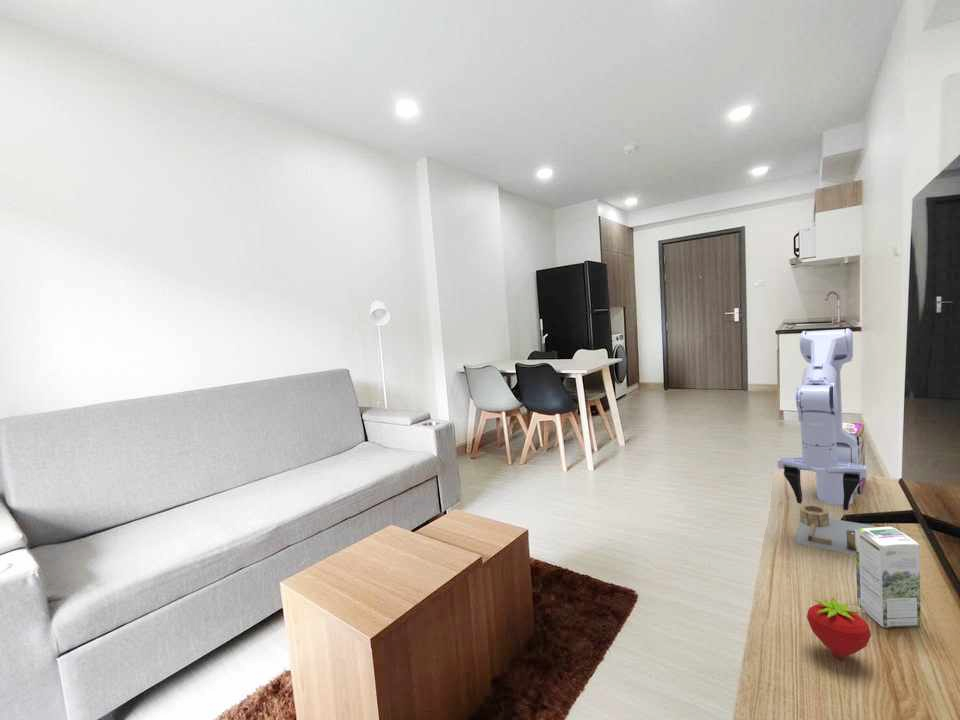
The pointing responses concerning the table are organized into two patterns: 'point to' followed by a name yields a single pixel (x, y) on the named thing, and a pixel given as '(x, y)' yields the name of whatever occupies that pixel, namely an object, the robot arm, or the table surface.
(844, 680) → the table surface
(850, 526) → the board
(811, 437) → the robot arm
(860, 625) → the strawberry
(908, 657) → the table surface
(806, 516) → the ring
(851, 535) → the end peg
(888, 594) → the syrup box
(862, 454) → the candy bar box
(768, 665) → the table surface
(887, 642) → the table surface
